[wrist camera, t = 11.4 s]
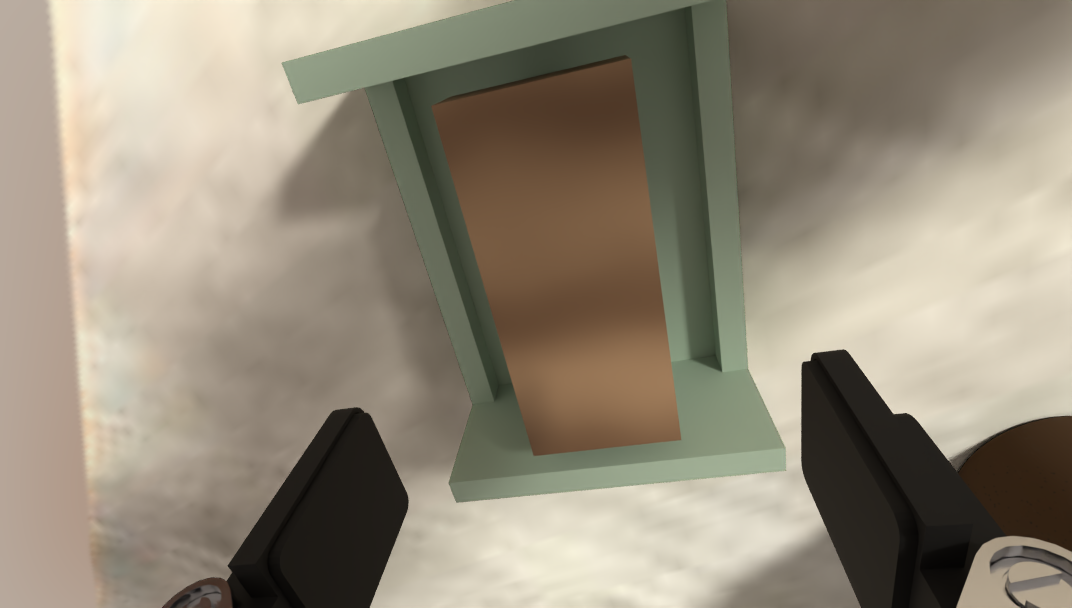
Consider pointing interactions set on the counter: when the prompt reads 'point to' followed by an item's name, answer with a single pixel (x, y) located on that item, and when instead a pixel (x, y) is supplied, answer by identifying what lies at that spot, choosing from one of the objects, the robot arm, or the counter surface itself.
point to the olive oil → (1027, 480)
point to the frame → (676, 205)
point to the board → (567, 252)
